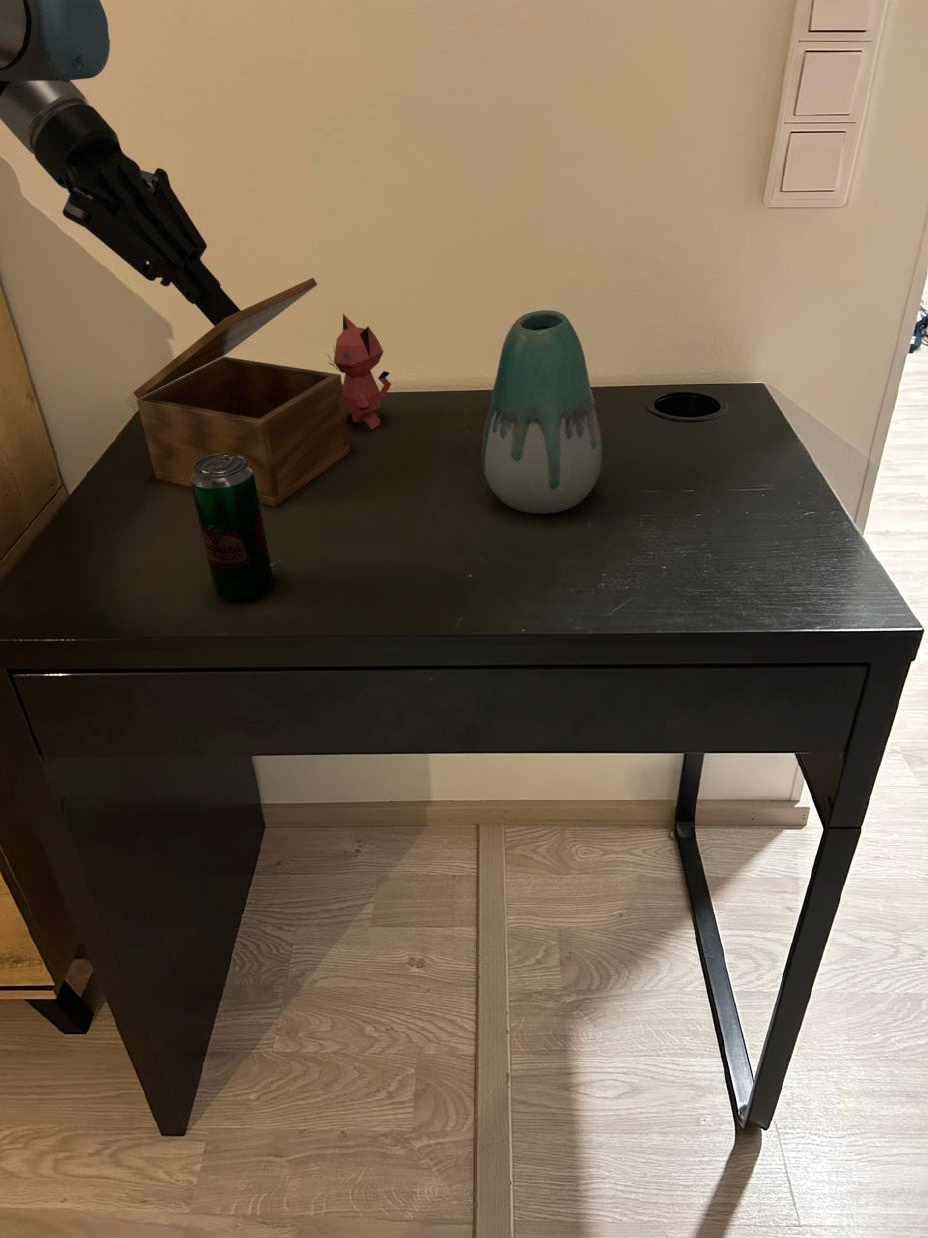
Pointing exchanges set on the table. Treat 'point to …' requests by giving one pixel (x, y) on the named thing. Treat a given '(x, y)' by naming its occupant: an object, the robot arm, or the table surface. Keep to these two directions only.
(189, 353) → the chest lid
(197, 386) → the chest
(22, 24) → the robot arm
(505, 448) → the vase
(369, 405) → the cat figurine
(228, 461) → the soda can
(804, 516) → the table surface
